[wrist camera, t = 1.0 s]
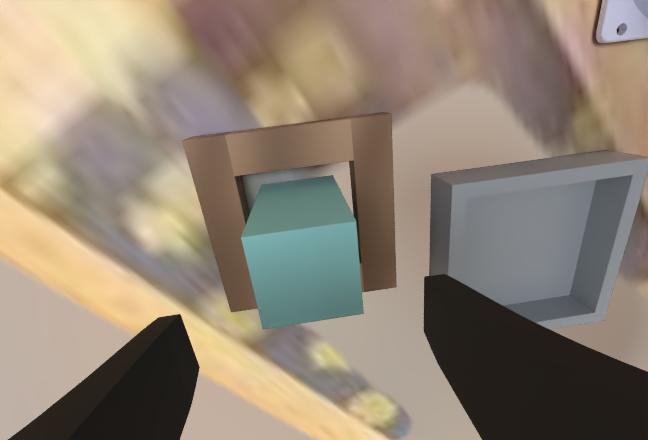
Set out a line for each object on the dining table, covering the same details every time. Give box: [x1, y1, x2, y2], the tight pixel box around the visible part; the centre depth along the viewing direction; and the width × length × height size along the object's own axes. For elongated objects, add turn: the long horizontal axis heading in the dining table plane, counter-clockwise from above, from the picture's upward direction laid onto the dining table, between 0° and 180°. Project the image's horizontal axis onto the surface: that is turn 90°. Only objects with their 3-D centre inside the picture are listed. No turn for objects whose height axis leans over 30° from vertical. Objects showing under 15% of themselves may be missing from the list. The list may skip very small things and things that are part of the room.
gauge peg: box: [241, 175, 363, 329], centre depth 14 cm, size 4×4×7 cm
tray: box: [429, 150, 648, 330], centre depth 18 cm, size 11×11×2 cm
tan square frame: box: [182, 113, 396, 312], centre depth 17 cm, size 10×10×2 cm
